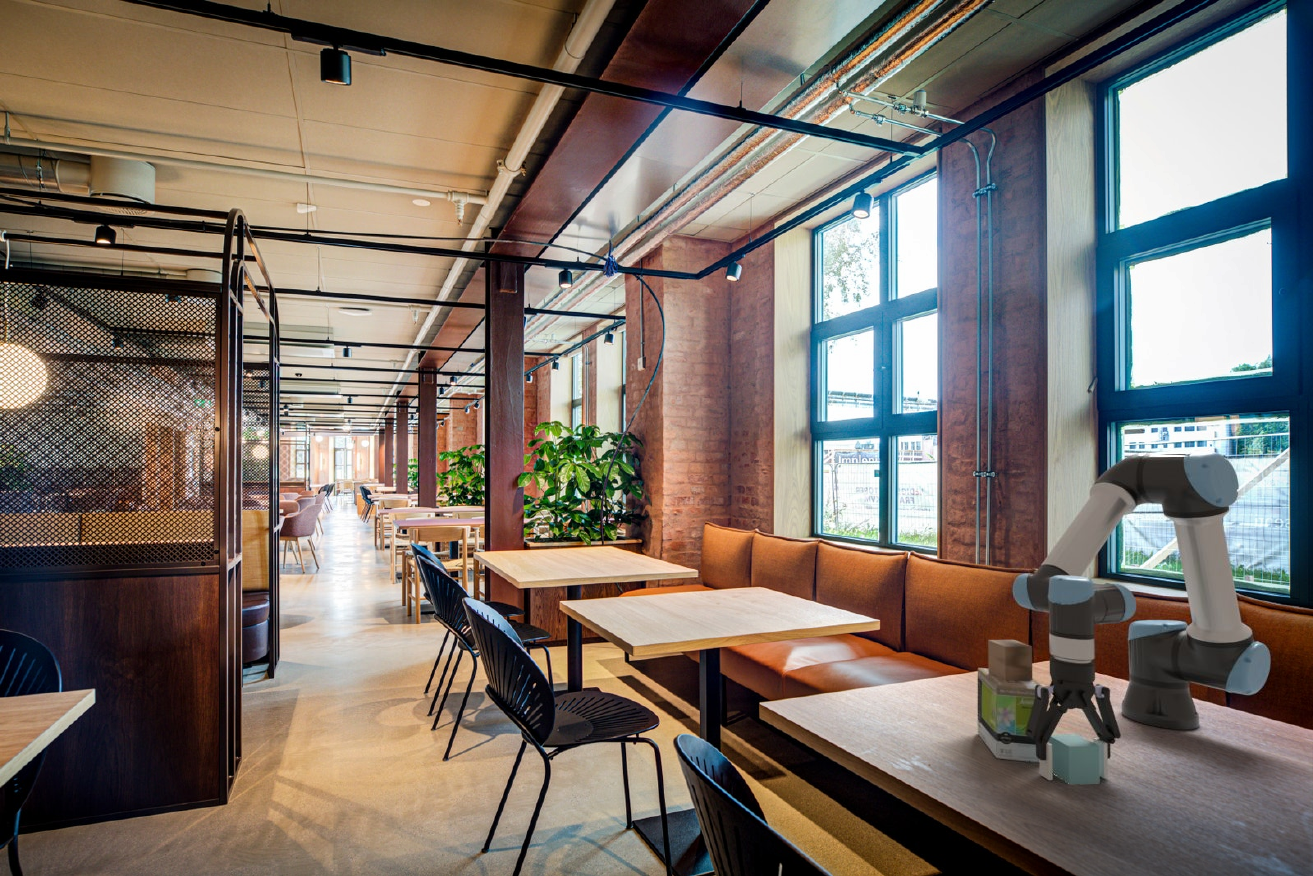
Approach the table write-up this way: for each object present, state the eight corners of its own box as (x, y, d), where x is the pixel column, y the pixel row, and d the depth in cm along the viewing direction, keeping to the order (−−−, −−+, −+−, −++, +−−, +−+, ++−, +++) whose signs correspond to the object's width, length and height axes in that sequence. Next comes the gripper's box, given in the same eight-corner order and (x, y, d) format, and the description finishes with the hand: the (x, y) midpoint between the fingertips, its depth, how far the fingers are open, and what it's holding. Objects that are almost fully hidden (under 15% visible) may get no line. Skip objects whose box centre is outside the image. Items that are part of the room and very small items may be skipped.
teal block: (1077, 771, 138) (1076, 734, 138) (1099, 784, 132) (1098, 745, 132) (1048, 771, 137) (1047, 734, 138) (1069, 785, 131) (1068, 746, 132)
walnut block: (1014, 672, 153) (1014, 639, 154) (1032, 680, 148) (1031, 646, 148) (988, 673, 153) (988, 640, 153) (1005, 681, 147) (1005, 646, 147)
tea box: (1049, 764, 141) (1048, 688, 142) (995, 760, 143) (994, 685, 144) (1024, 737, 156) (1024, 668, 157) (976, 733, 158) (975, 666, 158)
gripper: (1112, 652, 141) (1115, 767, 140) (1003, 653, 139) (1004, 769, 137) (1142, 662, 133) (1145, 783, 132) (1027, 663, 131) (1029, 786, 130)
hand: (1073, 776), depth 135 cm, fingers open, 10 cm apart
